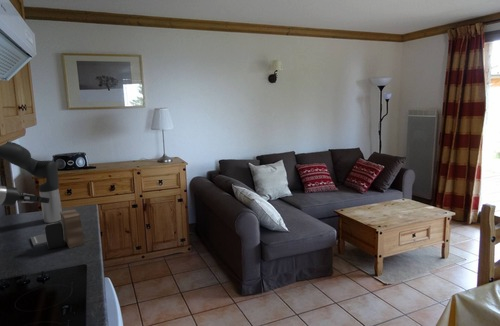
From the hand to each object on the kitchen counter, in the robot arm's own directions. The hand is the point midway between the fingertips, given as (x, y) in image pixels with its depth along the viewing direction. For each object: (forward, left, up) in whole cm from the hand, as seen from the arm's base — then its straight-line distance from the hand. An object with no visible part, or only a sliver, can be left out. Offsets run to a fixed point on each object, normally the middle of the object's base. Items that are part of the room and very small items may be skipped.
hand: (44, 200), depth 148 cm
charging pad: (-15, 0, -23) cm, 27 cm away
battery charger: (-2, +2, -23) cm, 23 cm away
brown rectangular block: (-2, +9, -23) cm, 24 cm away
